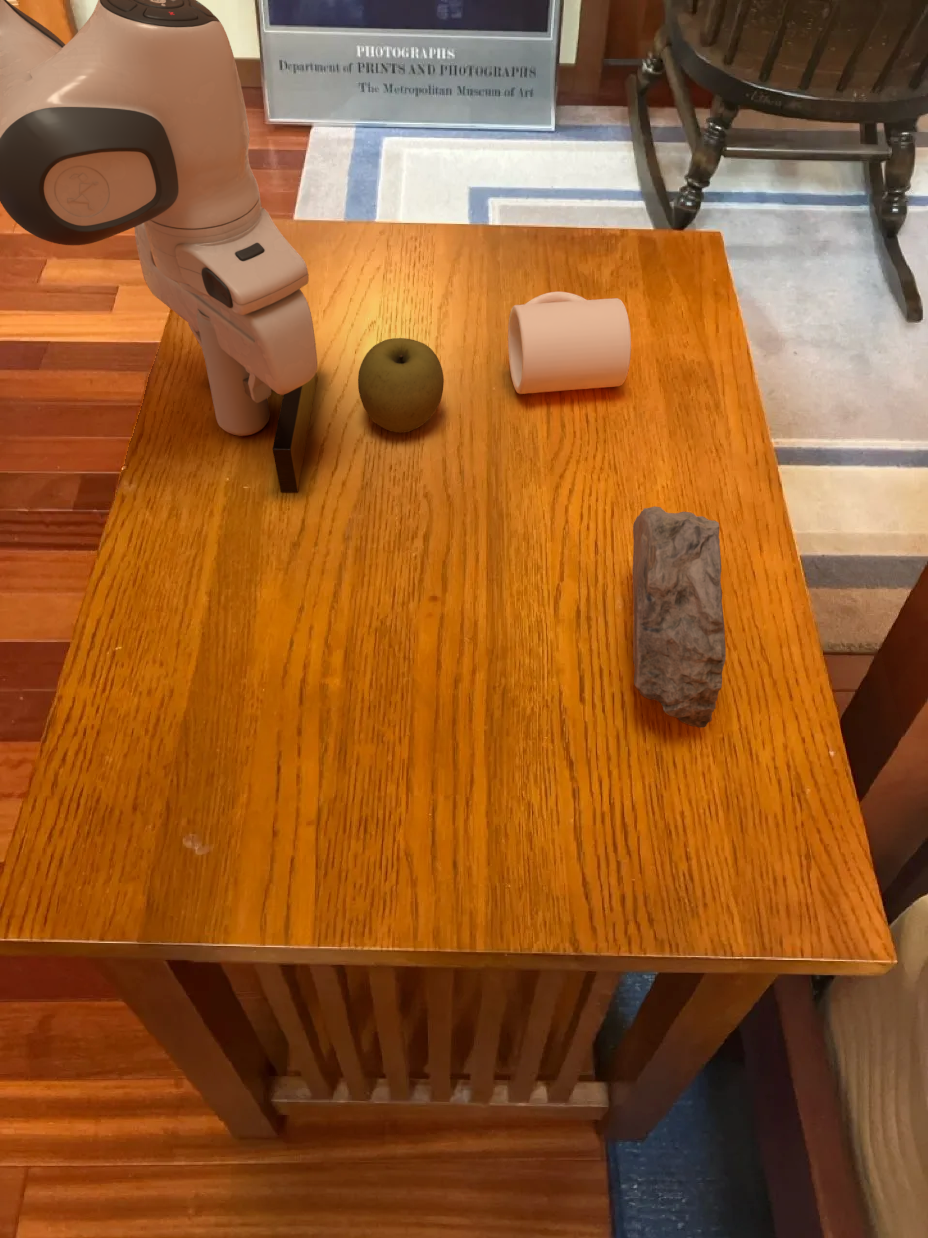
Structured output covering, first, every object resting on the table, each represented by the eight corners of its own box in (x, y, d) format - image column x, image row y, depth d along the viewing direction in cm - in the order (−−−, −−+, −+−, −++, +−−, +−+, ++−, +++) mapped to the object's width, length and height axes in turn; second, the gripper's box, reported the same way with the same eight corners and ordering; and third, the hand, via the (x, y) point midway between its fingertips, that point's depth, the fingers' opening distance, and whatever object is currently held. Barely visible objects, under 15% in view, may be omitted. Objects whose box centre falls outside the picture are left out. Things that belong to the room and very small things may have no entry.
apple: (455, 402, 88) (456, 338, 82) (422, 456, 84) (421, 393, 78) (382, 382, 90) (378, 318, 84) (346, 434, 85) (339, 370, 79)
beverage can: (213, 410, 87) (190, 293, 77) (264, 401, 88) (248, 285, 79) (222, 442, 84) (200, 324, 74) (275, 433, 85) (259, 316, 76)
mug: (622, 403, 88) (637, 332, 82) (519, 411, 88) (526, 340, 81) (594, 326, 96) (605, 256, 89) (498, 333, 95) (503, 262, 88)
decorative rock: (705, 750, 66) (763, 624, 54) (611, 739, 66) (648, 611, 54) (699, 575, 76) (747, 435, 64) (617, 566, 76) (649, 425, 64)
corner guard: (188, 490, 80) (174, 446, 76) (219, 375, 90) (208, 331, 86) (297, 492, 81) (290, 449, 77) (317, 377, 90) (311, 334, 86)
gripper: (99, 195, 74) (143, 340, 85) (251, 308, 66) (278, 454, 77) (167, 168, 77) (201, 312, 88) (322, 273, 68) (338, 419, 79)
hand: (238, 379), depth 82 cm, fingers closed on beverage can, 5 cm apart
